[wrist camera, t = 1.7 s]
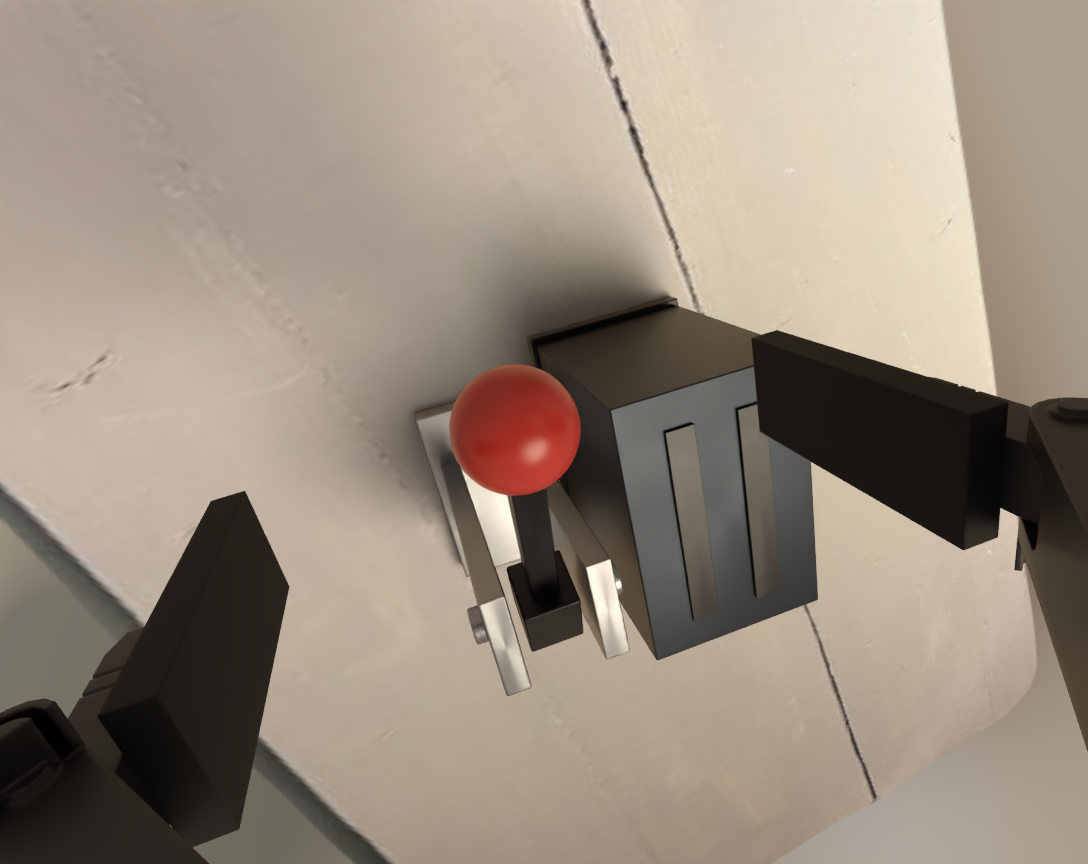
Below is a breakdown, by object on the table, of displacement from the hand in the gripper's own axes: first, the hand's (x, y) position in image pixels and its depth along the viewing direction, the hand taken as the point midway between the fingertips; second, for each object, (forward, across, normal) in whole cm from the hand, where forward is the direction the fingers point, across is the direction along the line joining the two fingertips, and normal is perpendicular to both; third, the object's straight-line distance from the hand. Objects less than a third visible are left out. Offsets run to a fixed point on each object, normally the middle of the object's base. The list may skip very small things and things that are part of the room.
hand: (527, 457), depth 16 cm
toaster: (+18, +8, -8) cm, 21 cm away
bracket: (+18, 0, -9) cm, 20 cm away
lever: (+5, 0, -3) cm, 6 cm away
